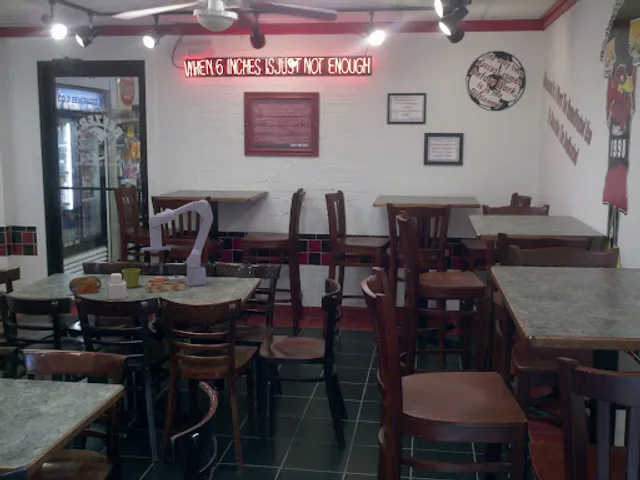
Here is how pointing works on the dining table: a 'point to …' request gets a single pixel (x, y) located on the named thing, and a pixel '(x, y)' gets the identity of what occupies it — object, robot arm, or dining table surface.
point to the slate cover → (176, 278)
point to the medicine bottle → (117, 286)
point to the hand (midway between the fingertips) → (156, 264)
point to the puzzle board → (164, 286)
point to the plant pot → (131, 277)
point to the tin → (84, 285)
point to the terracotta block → (159, 279)
